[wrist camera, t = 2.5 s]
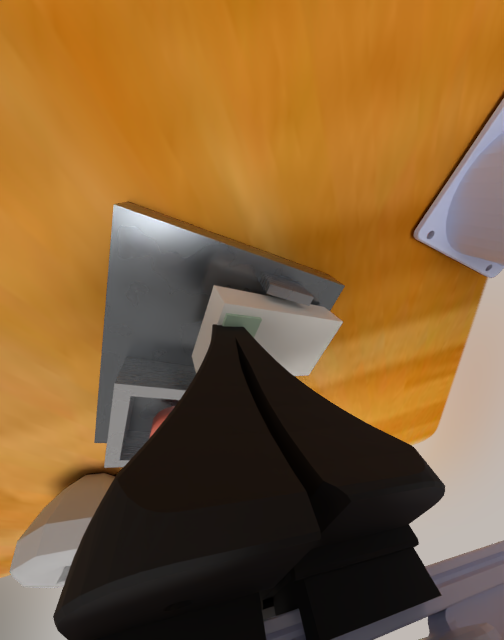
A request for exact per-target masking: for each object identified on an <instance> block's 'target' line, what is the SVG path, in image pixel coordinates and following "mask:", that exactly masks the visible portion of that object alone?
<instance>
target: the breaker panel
mask: <svg viewBox="0 0 504 640" xmlns="http://www.w3.org/2000/svg"><path fill="white" fill-rule="evenodd" d="M214 285H216V286H221V287H226V288H231V289H236V290H241V291H246V292H251V293H256V294H261V295H266V296H271V297H276V298H281V299H286V300H290V301H293V302H297V303H300V304H304V305H307V306H310V304H312V305H317V306H322V307H325V308H326V309H328V310H329V311H330V310H331V308H332V306H333V305H334V303H335V302H336V300H337V298H338V297H339V295H340V293H341V292H342V290H343V288H344V287H345V286H344V285H343V284H341V283H340V282H338V281H337V280H335V279H334V278H333V277H331V276H330V275H328V274H325V273H323V272H320V271H317V270H314V269H312V268H309V267H306V266H303V265H301V264H298V263H295V262H292V261H290V260H287V259H284V258H281V257H279V256H276V255H273V254H270V253H268V252H265V251H262V250H260V249H257V248H254V247H251V246H249V245H246V244H243V243H240V242H238V241H235V240H232V239H229V238H227V237H224V236H221V235H218V234H216V233H213V232H210V231H207V230H205V229H202V228H199V227H196V226H194V225H191V224H188V223H185V222H183V221H180V220H177V219H174V218H172V217H169V216H166V215H163V214H161V213H158V212H155V211H152V210H150V209H147V208H144V207H142V206H139V205H136V204H133V203H131V202H123V203H118V204H114V208H113V220H112V233H111V245H110V257H109V270H108V282H107V294H106V307H105V319H104V331H103V344H102V356H101V369H100V381H99V393H98V406H97V418H96V430H95V443H107V448H106V456H105V464H104V468H108V467H124V466H125V465H126V464H127V463H128V462H129V461H130V459H131V458H132V457H133V456H134V455H135V454H136V453H137V452H138V451H139V450H140V448H141V447H142V446H143V445H144V444H145V443H146V442H147V441H148V440H149V438H150V433H151V428H152V423H153V419H154V417H155V416H156V414H158V413H159V412H160V411H162V410H163V409H166V408H168V407H172V406H176V404H177V403H178V402H179V400H180V399H181V397H182V396H183V394H184V393H185V391H186V390H187V388H188V387H189V385H190V384H191V382H192V380H193V379H194V377H195V375H196V371H195V367H194V363H193V359H192V353H193V350H194V347H195V344H196V341H197V337H198V334H199V331H200V328H201V325H202V321H203V318H204V315H205V312H206V309H207V305H208V302H209V299H210V296H211V293H212V290H213V286H214Z"/></svg>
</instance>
